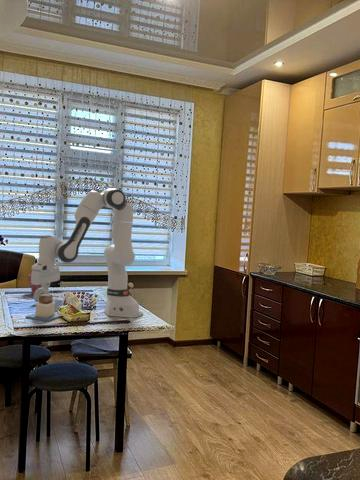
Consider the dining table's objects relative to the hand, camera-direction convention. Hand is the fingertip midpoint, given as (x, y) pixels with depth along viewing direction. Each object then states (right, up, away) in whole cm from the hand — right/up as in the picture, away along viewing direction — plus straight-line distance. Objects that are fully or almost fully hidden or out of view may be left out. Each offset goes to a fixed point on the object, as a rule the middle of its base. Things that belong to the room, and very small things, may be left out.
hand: (45, 290), depth 239 cm
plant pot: (-22, -9, +59) cm, 64 cm away
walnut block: (0, -7, +1) cm, 7 cm away
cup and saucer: (-1, -14, +1) cm, 14 cm away
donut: (-12, -12, +31) cm, 35 cm away
